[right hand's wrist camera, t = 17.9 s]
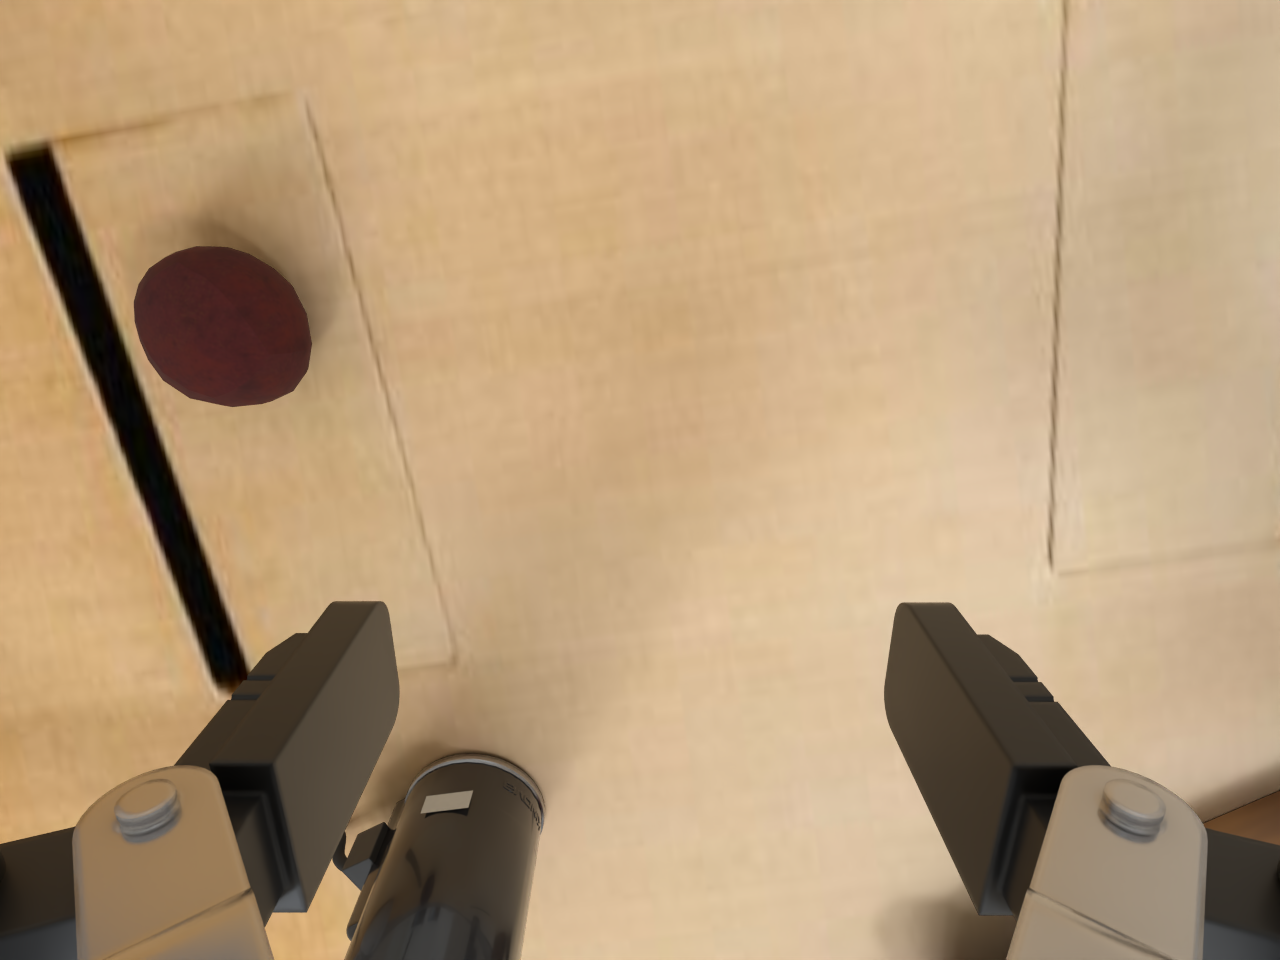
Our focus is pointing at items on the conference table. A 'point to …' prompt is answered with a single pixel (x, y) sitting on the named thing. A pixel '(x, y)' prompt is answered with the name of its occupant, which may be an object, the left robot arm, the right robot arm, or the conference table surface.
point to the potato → (222, 326)
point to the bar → (1252, 820)
